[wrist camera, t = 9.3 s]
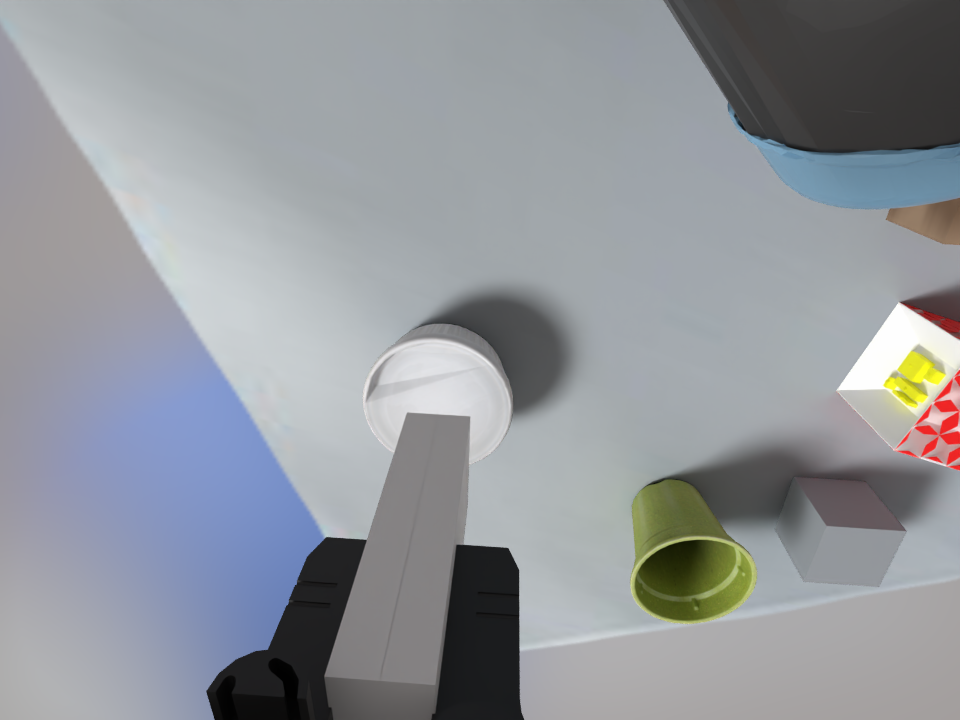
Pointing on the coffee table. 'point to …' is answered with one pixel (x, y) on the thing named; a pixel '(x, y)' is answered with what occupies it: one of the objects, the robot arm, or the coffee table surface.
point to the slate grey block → (838, 531)
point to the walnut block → (931, 220)
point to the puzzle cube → (911, 385)
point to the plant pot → (685, 557)
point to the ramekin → (440, 386)
